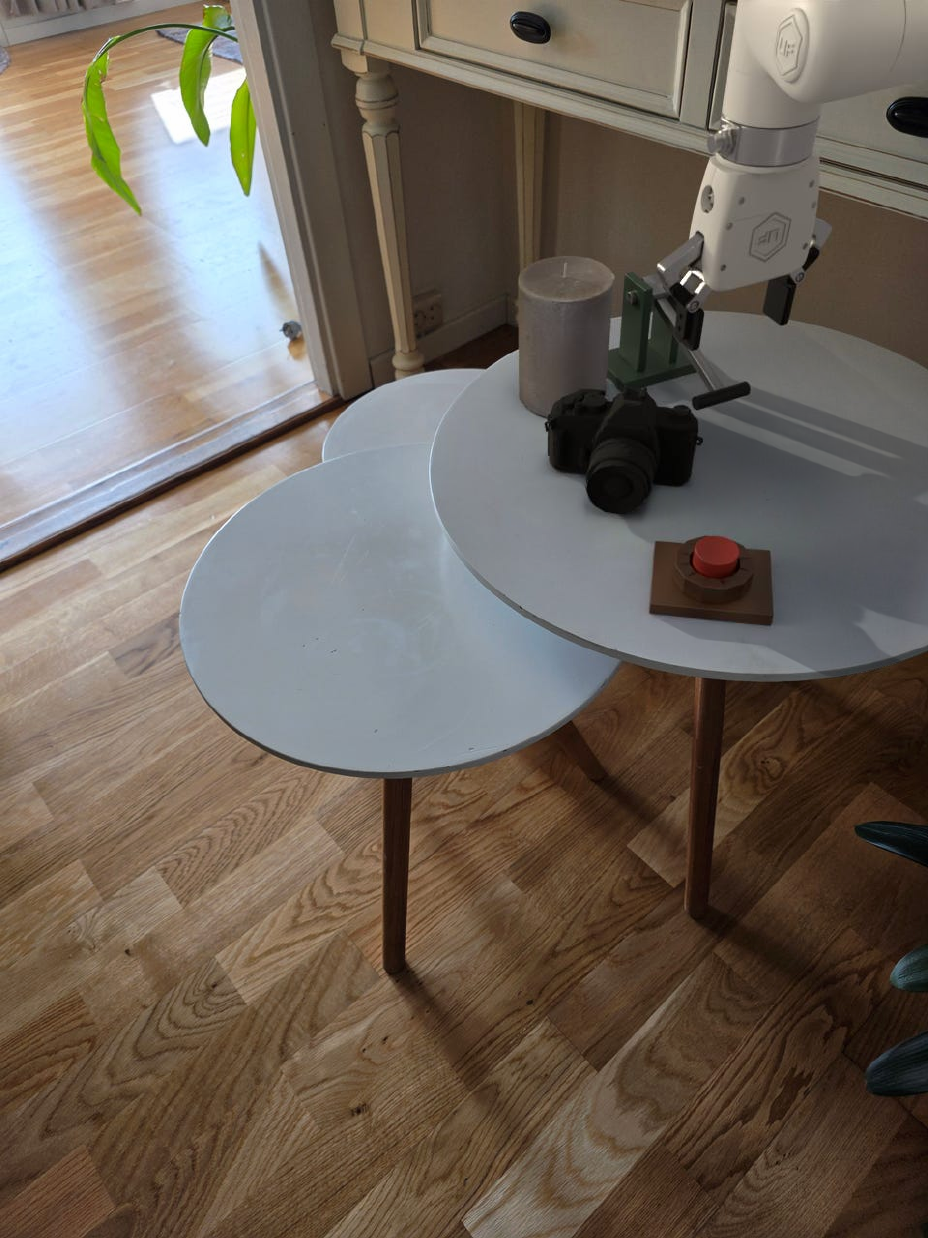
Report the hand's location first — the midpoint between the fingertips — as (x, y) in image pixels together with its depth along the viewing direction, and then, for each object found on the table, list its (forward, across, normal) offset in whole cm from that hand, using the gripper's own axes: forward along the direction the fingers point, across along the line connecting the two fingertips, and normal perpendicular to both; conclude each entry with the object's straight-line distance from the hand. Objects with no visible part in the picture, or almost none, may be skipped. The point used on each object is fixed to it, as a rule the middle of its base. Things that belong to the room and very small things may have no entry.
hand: (731, 331), depth 83 cm
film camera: (+12, -13, -4) cm, 18 cm away
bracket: (+12, 0, +14) cm, 18 cm away
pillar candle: (+12, -11, +13) cm, 21 cm away
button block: (+11, -13, -20) cm, 26 cm away
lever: (+6, 0, +8) cm, 10 cm away
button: (+9, -13, -19) cm, 25 cm away
